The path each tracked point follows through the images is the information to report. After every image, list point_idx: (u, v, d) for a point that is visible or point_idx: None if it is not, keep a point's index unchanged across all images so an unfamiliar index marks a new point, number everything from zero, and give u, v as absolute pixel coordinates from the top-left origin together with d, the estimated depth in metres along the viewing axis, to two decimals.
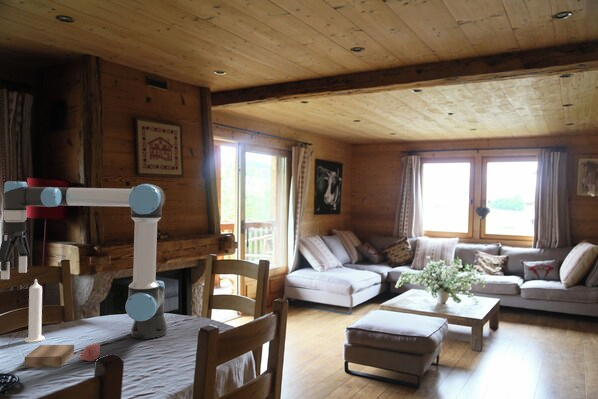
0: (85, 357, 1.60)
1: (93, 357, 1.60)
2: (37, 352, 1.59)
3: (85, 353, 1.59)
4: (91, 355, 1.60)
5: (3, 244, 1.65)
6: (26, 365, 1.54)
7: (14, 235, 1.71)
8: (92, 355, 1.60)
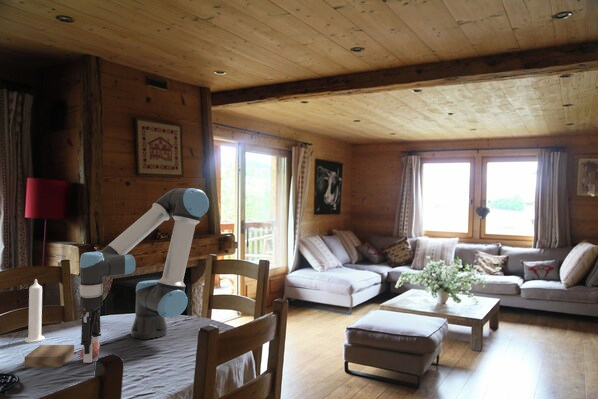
0: None
1: (92, 356, 1.60)
2: (37, 352, 1.59)
3: None
4: None
5: (83, 327, 1.55)
6: (26, 365, 1.54)
7: (91, 311, 1.59)
8: None
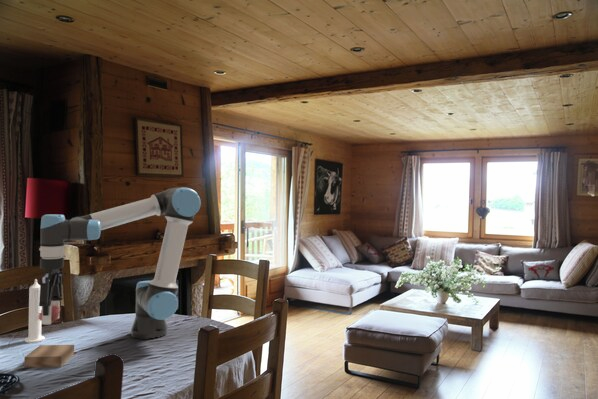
0: None
1: (51, 318, 1.58)
2: (36, 352, 1.59)
3: None
4: None
5: (42, 288, 1.54)
6: (26, 365, 1.54)
7: (51, 273, 1.58)
8: None
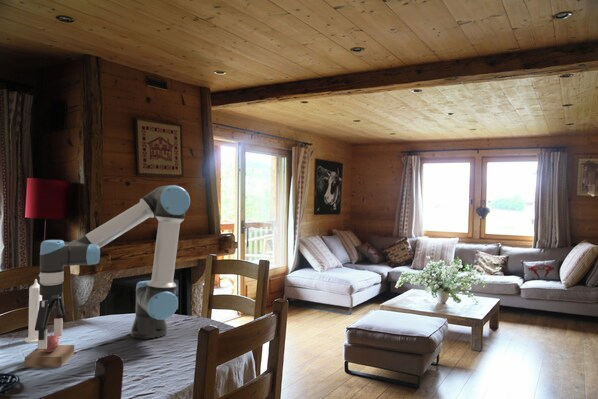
0: None
1: (50, 348, 1.58)
2: (37, 352, 1.59)
3: None
4: (48, 346, 1.58)
5: (40, 312, 1.53)
6: (26, 365, 1.54)
7: (51, 299, 1.58)
8: (49, 346, 1.58)
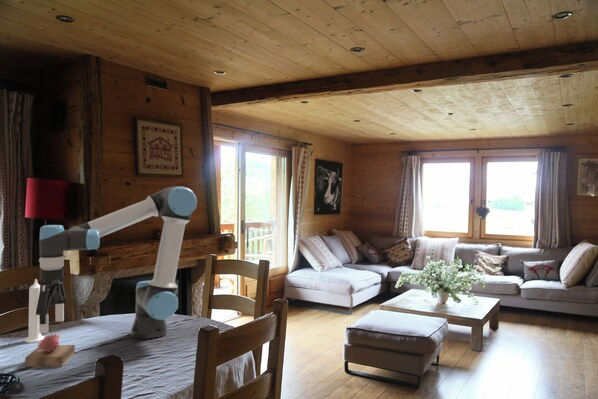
0: (43, 347, 1.59)
1: (51, 348, 1.59)
2: (37, 352, 1.59)
3: (43, 343, 1.58)
4: (49, 346, 1.58)
5: (41, 296, 1.53)
6: (27, 365, 1.55)
7: (52, 284, 1.58)
8: (50, 346, 1.59)
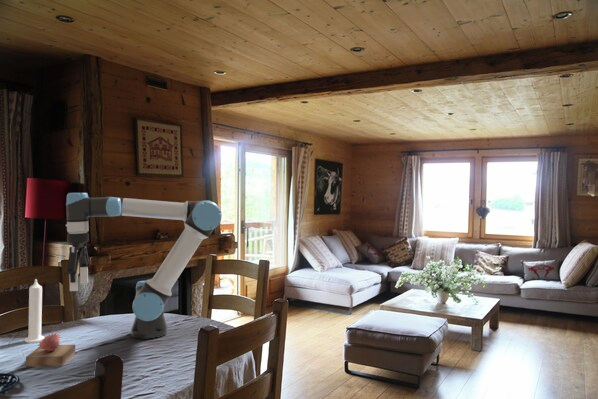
0: (44, 347, 1.59)
1: (52, 347, 1.59)
2: (38, 352, 1.60)
3: (44, 343, 1.59)
4: (50, 345, 1.59)
5: (71, 256, 1.65)
6: (27, 365, 1.55)
7: (79, 246, 1.71)
8: (51, 345, 1.59)
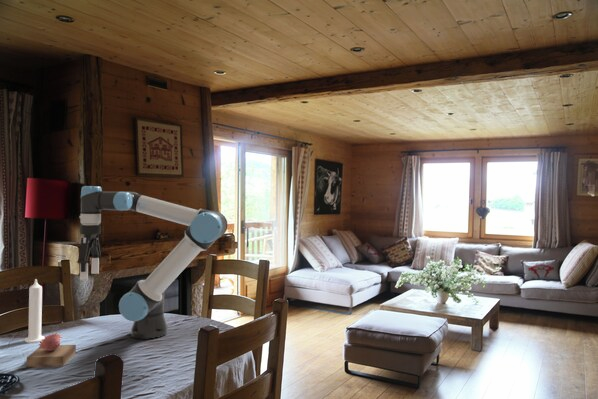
0: (44, 346, 1.59)
1: (52, 347, 1.60)
2: (38, 352, 1.59)
3: (44, 342, 1.59)
4: (50, 345, 1.59)
5: (82, 247, 1.72)
6: (28, 365, 1.55)
7: (91, 238, 1.78)
8: (51, 345, 1.59)
